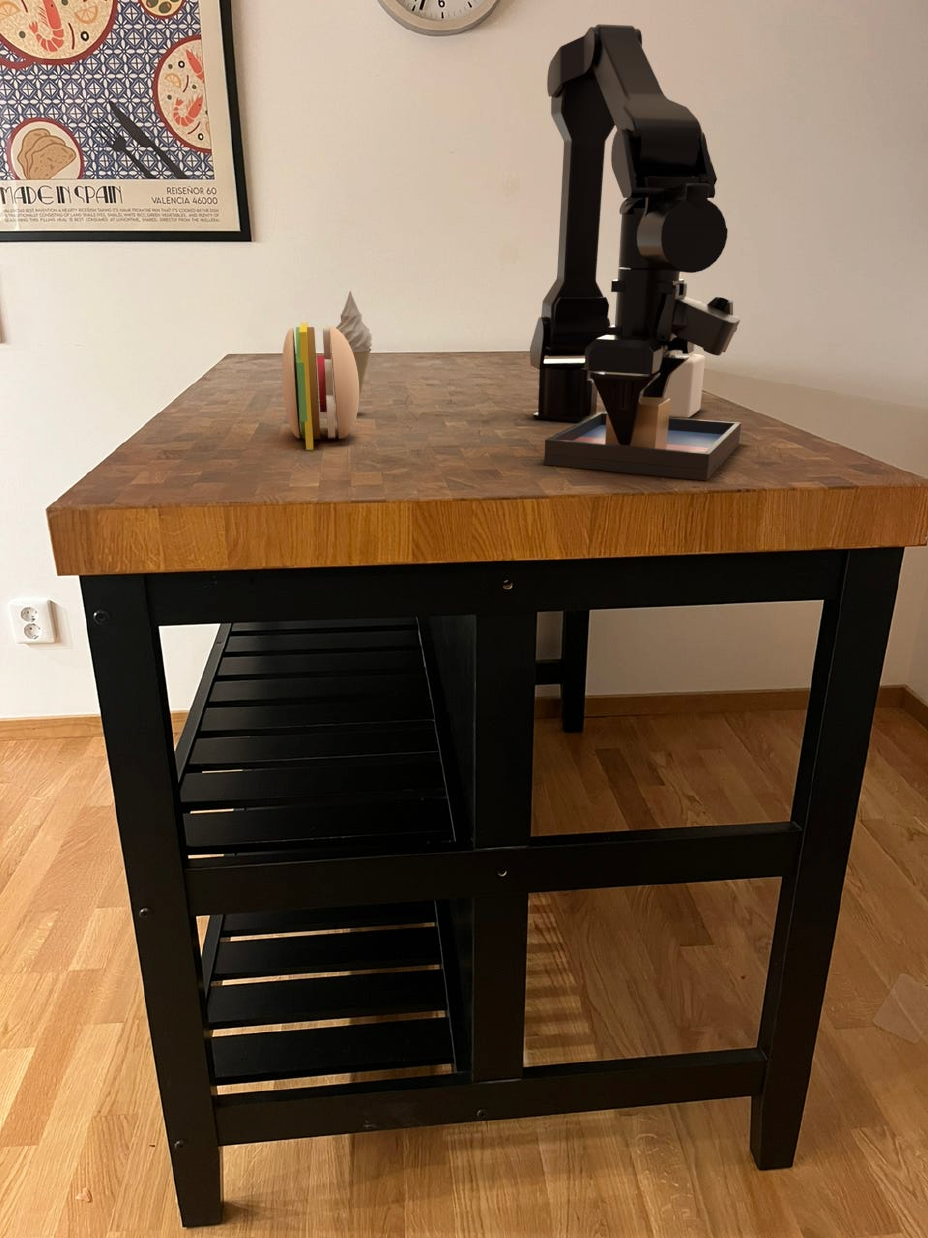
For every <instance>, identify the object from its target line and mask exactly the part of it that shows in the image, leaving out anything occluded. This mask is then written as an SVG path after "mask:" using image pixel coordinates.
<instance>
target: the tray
mask: <svg viewBox="0 0 928 1238" xmlns="http://www.w3.org/2000/svg"><path fill="white" fill-rule="evenodd" d="M606 421H607V412H603V411H597V412H596V414H594V415H592V416H590V417H589V418H587V419H585V420H583V421H578V422H577V423H574V424H573V425H571V426H569V427H567V428H565V429H564V430H561V431H559V432H558V433H556V434H554V435H551V436H550V437H548V438H546V439H545V440H544V441H545V442H544V463H543V464H544V465H545V466H554V467H565V468H576V469H583V470H593V471H603V472H615V473H625V474H634V475H645V476H653V477H654V476H655V477H664V478H665V477H666V478H674V479H675V478H676V479H685V480H694V481H708V480H709V479H710V477H711V476H713V474H714V473H715V472H716V471H717V470H718V469H719V468H720V467H721V466H722V464H723V463H724V462H725V461H726V460H727V459H728V458H729V457H730V456H731V455H732V453H734V451H735V450H736V449H737V448H738V447H739V445H740V437H741V436H740V435H741V428H742V422H739V421H738V422H736V421H722V420H710V419H696V418H675V417H669V423H668V435H667V447H666V449H658V448H647V447H636V446H624V445H613V444H605V438H606Z"/></svg>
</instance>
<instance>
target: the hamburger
mask: <svg viewBox="0 0 928 1238" xmlns="http://www.w3.org/2000/svg"><path fill="white" fill-rule="evenodd" d="M299 325H300V326H295V332H294V327H291V328H289V329H288V331H287V332H286V335H285V338H284V343H283V349H282V355H281V385H282V394H283V395H282V396H283V402H284V403H283V404H284V408H285V413H286V418H287V421H288V424H289V427H290V430H291V432H292V433H293V435H294V436H295V438H297V439H301V437H302V440H305V450H306V451H313V450H314V440H321V424H320V413H326V420H327V421H326V422H327V438H328V440H336V426H337V435H338V440H341V439H344V438H346V437H347V436H348V435H349V434H350V433H351V431H352V430H353V427H354V425H355V423H356V420H357V417H358V412H359V405H360V404H359V403H360V399H359V379H358V371H357V366H356V362H355V358H354V355H353V352H352V349H351V347H350V345H349V343H348V341H347V339H346V338H345V336H344V335H343V334H342V333H341V332H340V331H339V330H337V329H336V327H334V326H327V325H325V326H324V325H323V326H322V342H323V343H322V344H323V345H322V346H323V354H321V355H320V354H318V355H317V348H316V335H315V334H316V331H315V327H314V326H309V323H308V322H300V324H299ZM335 413H336V414H335ZM335 415H336V420H335ZM335 421H336V422H335ZM336 424H337V425H336Z"/></svg>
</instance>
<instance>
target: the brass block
mask: <svg viewBox="0 0 928 1238" xmlns="http://www.w3.org/2000/svg"><path fill="white" fill-rule="evenodd" d="M670 400H671V399H669V398H654V397H642V399H641V404H640V408H639V413H638V417H637V422H636V426H635V430H634V434H633V438H632V442H631V444H630V445H628V446H636V447H647V448H658V449H666V447H667V435H668V423H669V411H670ZM605 444H613V445H620V444H619V443H618V440H617V438H616V435H615V432H614V430H613V427H612V425H611V422H610V419H609V417H608V414H607V421H606V438H605ZM624 446H627V445H624Z"/></svg>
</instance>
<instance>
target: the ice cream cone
mask: <svg viewBox="0 0 928 1238" xmlns="http://www.w3.org/2000/svg"><path fill="white" fill-rule="evenodd" d="M356 303H357V302H356V301H355V299H354V297H353V294H352V290H350V291H349V293H348V295H347V299H346V302H345V304H344V308H343V310H342V312H341V313H340V315H339V316H340V323H338V325H337V326H336V327H335V328H336V329H337V330H339V331H340V332H341V333H342V334H343V335H344V336H345V338H346V339H347V341H348V343H349V345H350V347H351V349H352V352H353V355H354V358H355V362H356V366H357V371H358V379H359V400H360V399H361V394H362V390H363V385H364V382H365V381H364V380H365V376H366V372H367V368H368V364H369V359H370V355H371V351H372V348H371V347H372V339H373V337H372V333H371V332H370V328H369V327H368V326H367V325H366V324H365V323H364V322H363V314H362V313H361V312H360V310H359V308H358V306H357V304H356Z"/></svg>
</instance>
